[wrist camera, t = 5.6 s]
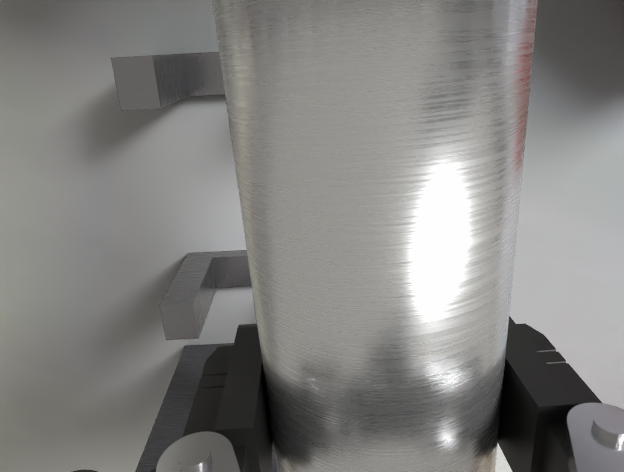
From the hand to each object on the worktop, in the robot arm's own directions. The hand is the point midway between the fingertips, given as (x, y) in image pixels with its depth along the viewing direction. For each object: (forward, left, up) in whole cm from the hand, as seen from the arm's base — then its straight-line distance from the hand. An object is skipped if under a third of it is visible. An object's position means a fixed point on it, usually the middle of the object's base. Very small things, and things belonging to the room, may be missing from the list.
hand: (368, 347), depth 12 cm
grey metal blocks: (-6, -4, -16) cm, 17 cm away
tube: (0, 0, -1) cm, 1 cm away
